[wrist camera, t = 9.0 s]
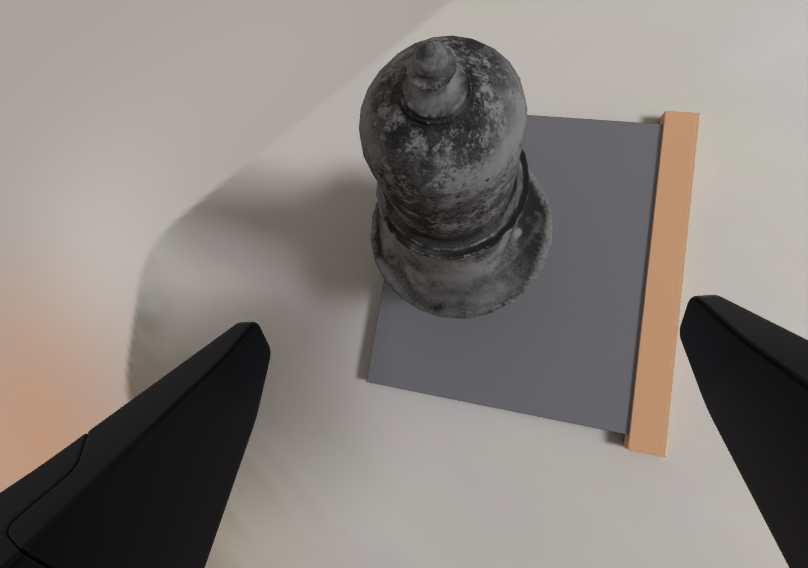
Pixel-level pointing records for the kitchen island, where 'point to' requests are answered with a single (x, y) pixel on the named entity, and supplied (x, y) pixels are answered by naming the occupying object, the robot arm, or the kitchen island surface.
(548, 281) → the dough scraper
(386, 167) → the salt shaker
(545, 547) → the kitchen island surface
